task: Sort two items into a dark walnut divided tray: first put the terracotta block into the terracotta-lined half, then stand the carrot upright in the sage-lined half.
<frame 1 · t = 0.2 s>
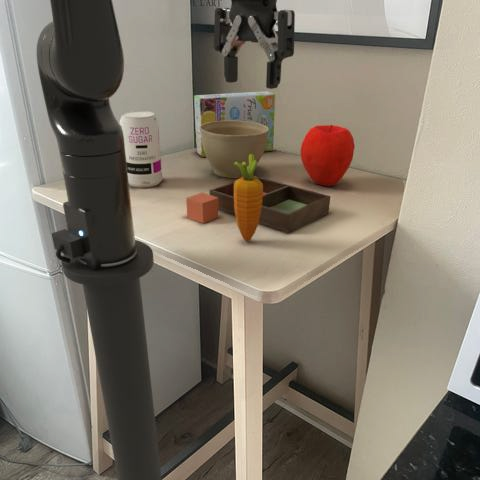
hand: (251, 85, 80), 25 cm above the table, tool pointing down, fingers open, 8 cm apart
snack box: (234, 152, 139), on the table
sorting tray: (268, 210, 102), on the table
apple: (323, 185, 116), on the table
carrot: (247, 243, 88), on the table
planter bowl: (233, 174, 123), on the table
terracotta block: (202, 217, 98), on the table
supplement can: (144, 183, 115), on the table
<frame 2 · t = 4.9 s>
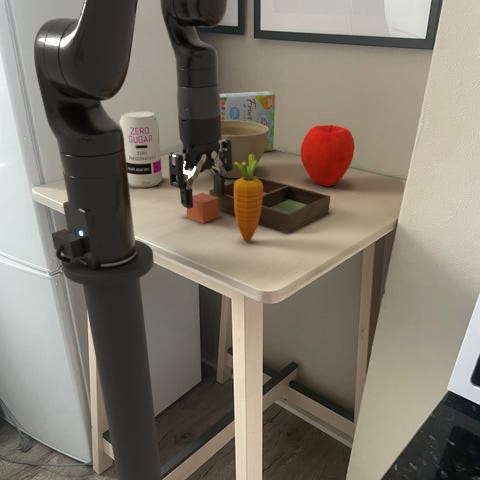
hand: (203, 200, 96), 3 cm above the table, tool pointing down, fingers open, 8 cm apart
nothing on the table moved.
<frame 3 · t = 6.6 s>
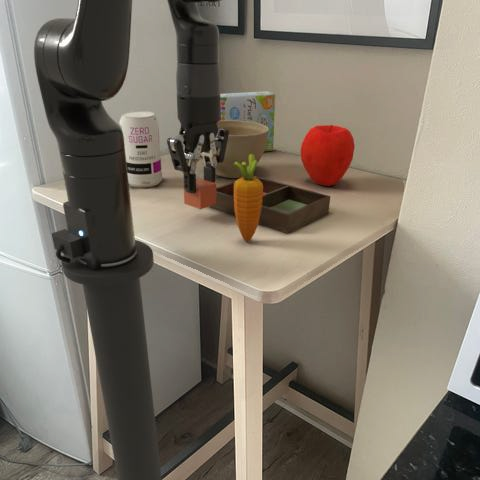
hand: (200, 189, 94), 6 cm above the table, tool pointing down, fingers closed on terracotta block, 4 cm apart
terracotta block: (200, 203, 96), point 3 cm above the table, touching gripper
everything else where it was.
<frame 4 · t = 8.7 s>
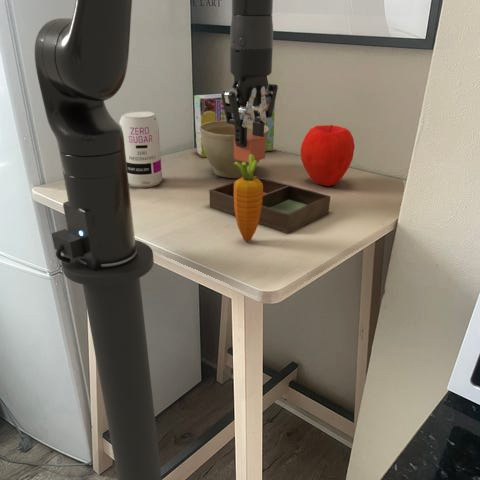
hand: (249, 143, 97), 12 cm above the table, tool pointing down, fingers closed on terracotta block, 4 cm apart
terracotta block: (249, 158, 99), point 10 cm above the table, touching gripper
everything else where it was.
when the fingers open (4 cm above the table, at t = 10.8 s): terracotta block stays where it is, resting on sorting tray.
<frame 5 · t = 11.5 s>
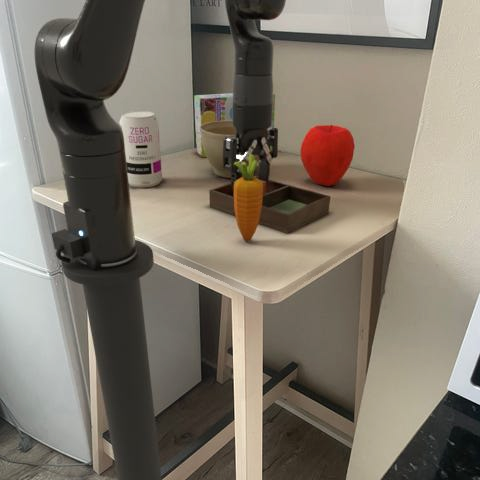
hand: (250, 185, 102), 4 cm above the table, tool pointing down, fingers open, 8 cm apart
terracotta block: (250, 200, 104), point 1 cm above the table, touching sorting tray
everything else where it was.
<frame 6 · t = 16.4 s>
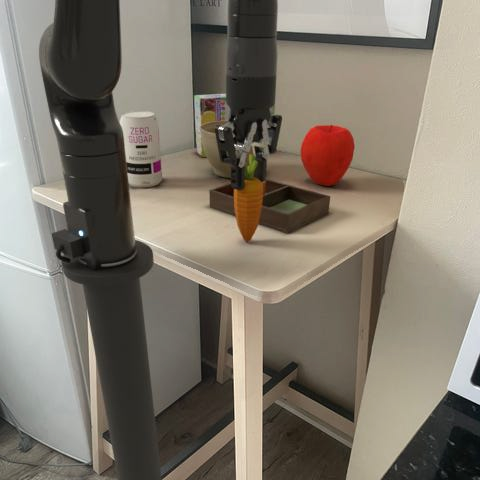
hand: (248, 184, 83), 10 cm above the table, tool pointing down, fingers closed on carrot, 4 cm apart
carrot: (247, 243, 88), on the table, touching gripper
everything else where it was.
when the fingers open (11 cm above the table, at t = 22.5 s): carrot stays where it is, resting on sorting tray.
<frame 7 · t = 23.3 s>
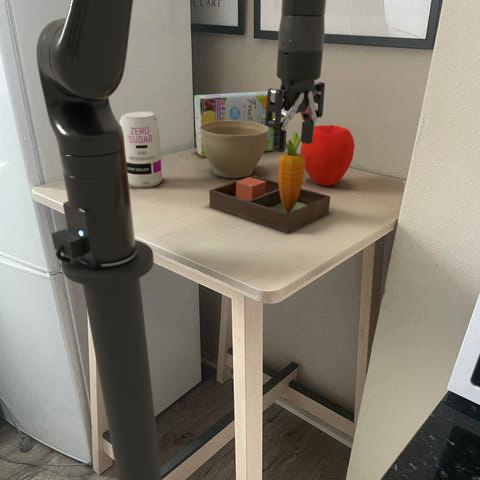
hand: (293, 147, 91), 13 cm above the table, tool pointing down, fingers open, 8 cm apart
carrot: (288, 213, 98), point 1 cm above the table, touching sorting tray
everything else where it was.
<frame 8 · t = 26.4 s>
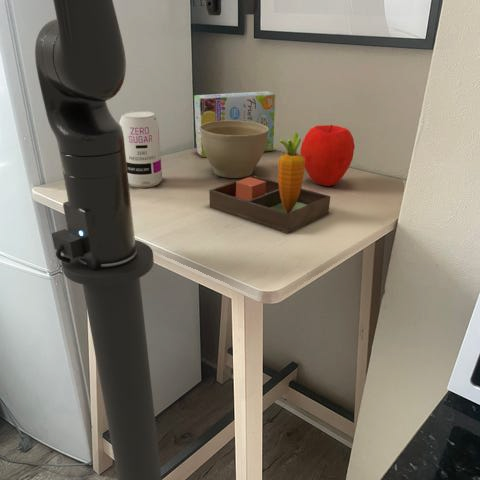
hand: (232, 14, 79), 34 cm above the table, tool pointing down, fingers open, 8 cm apart
nothing on the table moved.
at the end: terracotta block inside the target area on the sorting tray (0.3 cm from its centre), point 0.8 cm above the sorting tray's base; carrot inside the target area on the sorting tray (0.2 cm from its centre), point 0.6 cm above the sorting tray's base; carrot tilted 0° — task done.
